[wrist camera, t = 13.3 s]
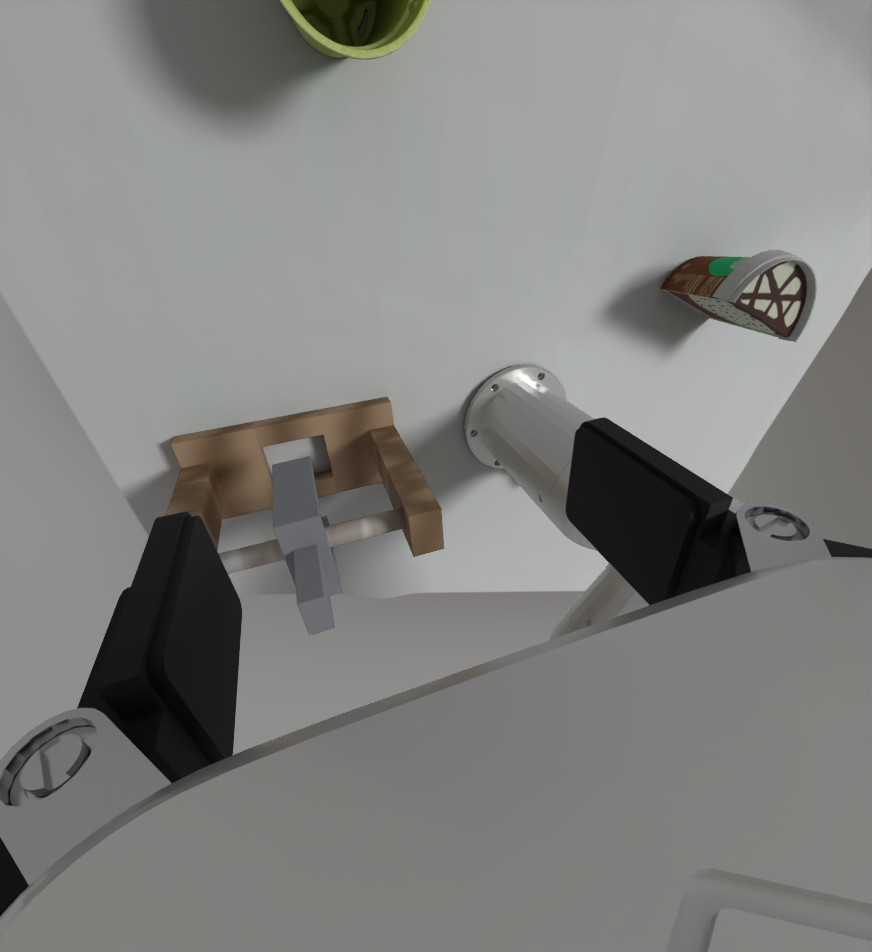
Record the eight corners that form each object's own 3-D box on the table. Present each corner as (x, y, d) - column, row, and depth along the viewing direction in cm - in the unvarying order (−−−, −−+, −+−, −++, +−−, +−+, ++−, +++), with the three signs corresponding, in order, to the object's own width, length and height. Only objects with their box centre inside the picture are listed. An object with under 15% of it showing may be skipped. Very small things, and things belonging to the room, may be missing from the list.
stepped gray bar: (329, 526, 40) (352, 645, 29) (296, 534, 39) (307, 660, 29) (309, 456, 36) (327, 566, 25) (272, 465, 35) (273, 581, 24)
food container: (750, 270, 50) (842, 282, 42) (716, 322, 52) (798, 343, 44) (685, 223, 44) (777, 227, 36) (651, 283, 47) (731, 300, 39)
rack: (387, 396, 44) (439, 480, 30) (397, 471, 49) (445, 570, 35) (173, 436, 39) (124, 555, 26) (208, 514, 44) (182, 647, 31)
